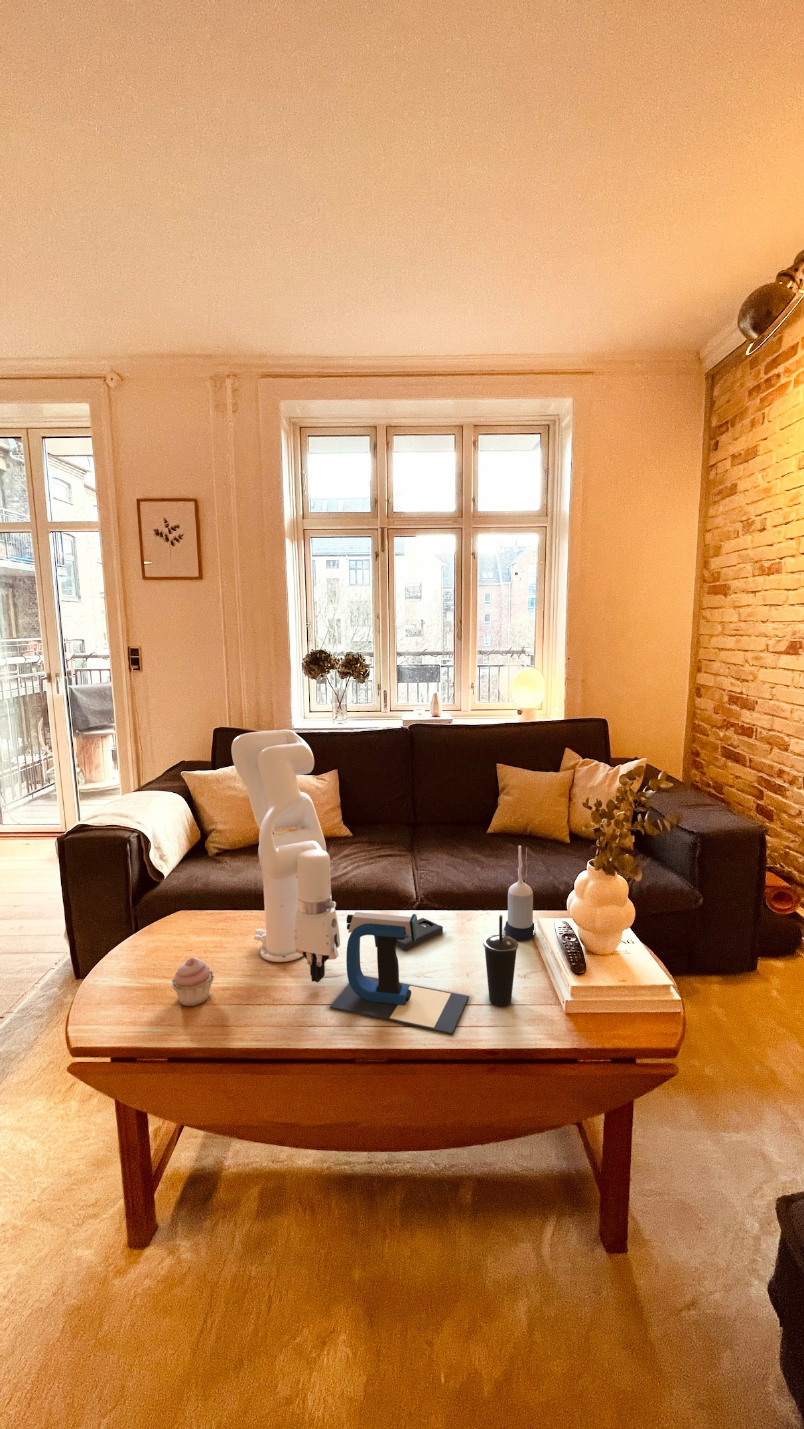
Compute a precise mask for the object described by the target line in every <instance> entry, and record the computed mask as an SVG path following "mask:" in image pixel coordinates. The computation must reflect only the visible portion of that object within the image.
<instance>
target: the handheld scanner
mask: <svg viewBox="0 0 804 1429" xmlns="http://www.w3.org/2000/svg"><path fill="white" fill-rule="evenodd" d="M417 920H418V915H417V914H416V913H413V914H412V915H411V916H406V915H394V914H383V913H371V912H362V911H361V912H359V911H355V912H354V914H347V916H346V923H347V924H346V930H348V932H347V933H348V934H349V933H350V934H349V937H348V939H347V945H346V974H347V975H346V976H347V980H348V984H350V986H351V988H352V989H353V991H354V992H355V993H356V994H357V995H358V996H359V997H361V998H362V999H364V1000H366V1001H370V1002H378V1003H387V1004H396V1005H405V1004H406V1001H409V1000H410V997H411V990H409V986H405V985H401V984H400V983H401V982H400V968H399V959H398V955H397V947H396V944H397V941H398V938H405V936H406V933H408V934H409V935H411V938H412V941H416V938H417V935H418V933H419V929H418V922H417ZM364 936H373V938H374V945H375V948H376V960H377V961H376V963H377V978H378V981H379V983H377V982H372V981H370V980H368V979H367V978H365V976H366V975H364V973H363V971H362V966H361V938H362V937H364Z"/></svg>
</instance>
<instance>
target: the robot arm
mask: <svg viewBox="0 0 804 1429" xmlns="http://www.w3.org/2000/svg"><path fill="white" fill-rule="evenodd" d="M231 758H232V762H233V765H234V769H235V770H236V772H237V775H238V776H239V777H240V779H241V781H242V782H243V784H244V786H245V788H246V791H247V795H248V799H249V802H250V807H251V810H252V813H253V817H254V820H255V824H256V826H257V828H258V829H259V832H258V833H259V834H258V844H259V845H258V849H257V850H258V851H257V854H258V859H259V863H260V864H259V865H260V869H261V874H262V884H263V886H262V887H263V903H264V928H265V929H260V928H256V930H255V932H254V938H253V940H254V941H257V942H261V943H262V944H261V946H260V948H259V953H260V956H261V957H262V959H264V960H266V961H268V962H273V963H285V962H291V961H295V960H298V959H300V958H302V957H304V958H305V960H306V961H307V965H309V975H310V980H311V982H313V983H314V982H315V983H319V982H320V981H321V980H322V979H323V978H324V977H325V974H326V968H325V967H326V965H325V963H326V962H327V961H328V960H329V961H331V960H332V961H333V960H336V959H337V958H338V957H339V951H338V948H339V947H340V946H341V935H340V934H341V933H340V928H339V927H340V926H339V919H338V916H337V915H338V914H337V912H336V907H337V902H336V901H334V900H333V897H332V882H331V881H332V880H331V859H330V858H331V857H330V854H329V853H328V852H327V845H326V839H325V836H324V835H325V834H324V833H323V829H322V826H321V823H320V820H319V816H318V813H317V811H316V806H315V804H314V802H313V800H312V798H311V797H310V795H309V794H308V793H306V792H302V791H301V789H300V786H299V782H298V779H297V778H298V777H297V776H303V775H308V774H310V773H312V771H313V770H314V767H315V758H314V754H313V751H312V749H311V747H310V745H309V744H308V743H307V742H306V741H305V740H304V739H303V738H302V737H300V736H299V735H298V734H297V733H296V732H295V731H294V730H291V729H274V730H261V731H260V730H259V731H252V732H246V733H243V734H240V735H238V736H236V737H235V738H234V739H233V741H232V743H231ZM295 828H296V830H295ZM289 829H294V830H289ZM284 830H288V831H284ZM278 831H283V832H278ZM274 832H277V833H274ZM296 876H297V877H296Z"/></svg>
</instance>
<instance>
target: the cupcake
mask: <svg viewBox="0 0 804 1429" xmlns="http://www.w3.org/2000/svg"><path fill="white" fill-rule="evenodd" d="M173 977H174V978H173V979H171V983H172V985H171V987H172V989H173V990H174V991H175V993H176V995H177V998H178V1002H179V1003H180V1004H181V1005H182V1006H185V1007H193V1006H199V1005H201V1004H204V1002H206V1000H208V998H209V996H210V991H211V987H212V983H213V981H214V979H215V976H214V971H213V970H210V966H209V965H208V964H207V963H206V962H204V961H203V960H201V959H200V958H198V957H190V958H189V959H187V961H185V962H183V963H181V964H180V965H179V966H178V968H177V970H176V973H175V975H174V976H173Z"/></svg>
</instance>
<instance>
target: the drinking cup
mask: <svg viewBox="0 0 804 1429" xmlns="http://www.w3.org/2000/svg"><path fill="white" fill-rule="evenodd" d="M498 916H499V917H498V925H499V926H498V934H493V935H489V936H487V937H485V938H484V939H483V941H482V944H483V947H484V955H485V967H486V975H487V976H486V977H487V978H486V979H487V989H488V1001H489V1003H490V1004H491V1005H493V1006H494V1007H499V1008H505V1007H508V1006H510V1005H511V1003H512V999H513V998H512V997H513V988H514V987H513V986H514V978H515V970H516V969H515V968H516V960H517V950H518V948H519V941H516V940H515V939H513V938H511V937H509V936H506V934H505V935H504V934H503V915H502V914H499V915H498Z"/></svg>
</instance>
